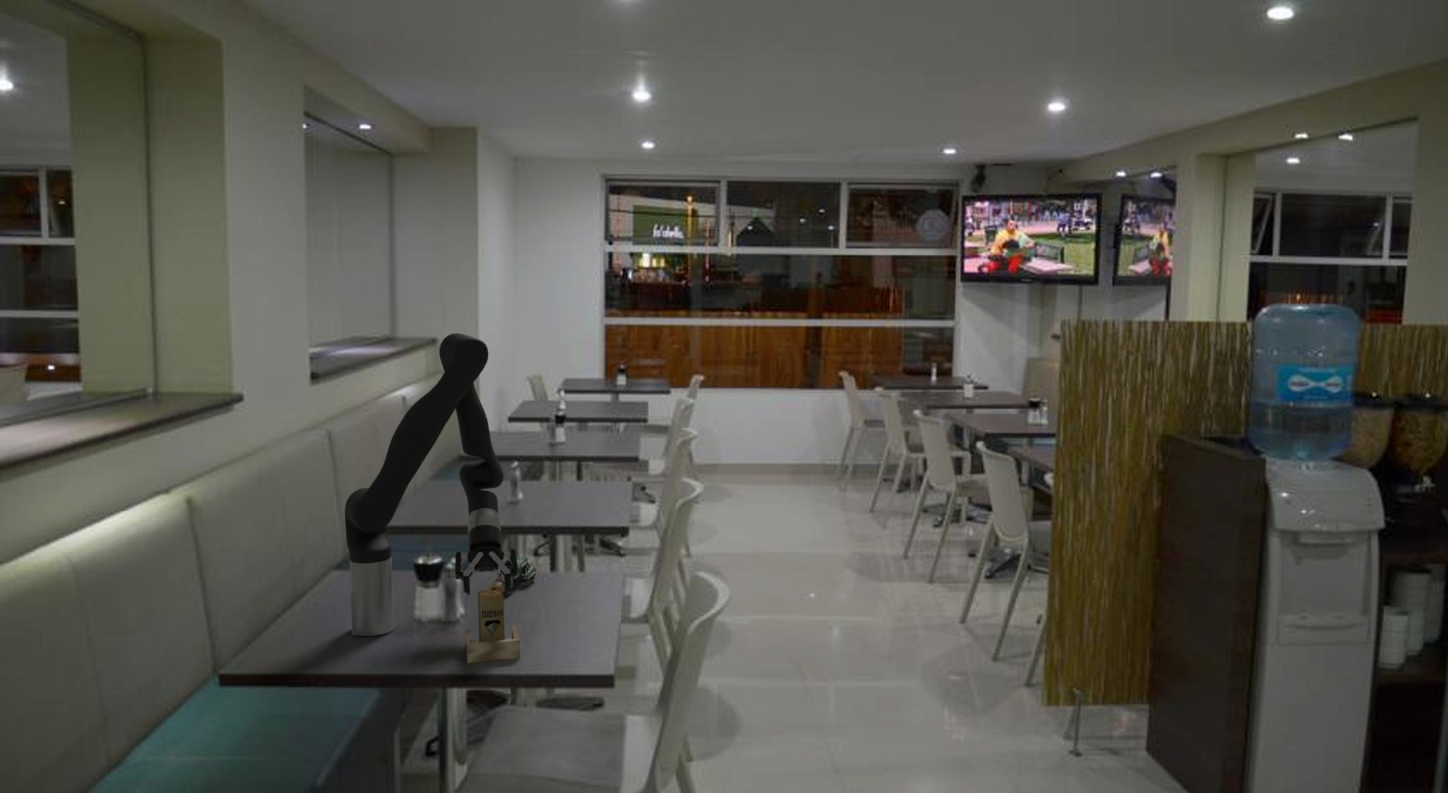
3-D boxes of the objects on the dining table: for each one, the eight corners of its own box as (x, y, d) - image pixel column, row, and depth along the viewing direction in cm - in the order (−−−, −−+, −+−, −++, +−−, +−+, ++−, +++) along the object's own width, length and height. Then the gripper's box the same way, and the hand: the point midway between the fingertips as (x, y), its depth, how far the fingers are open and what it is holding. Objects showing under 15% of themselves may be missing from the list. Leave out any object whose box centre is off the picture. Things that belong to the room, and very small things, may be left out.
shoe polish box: (479, 643, 234) (477, 591, 233) (501, 641, 236) (500, 589, 235) (481, 651, 230) (480, 597, 228) (504, 648, 231) (503, 595, 230)
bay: (467, 662, 226) (467, 644, 226) (466, 645, 237) (465, 628, 237) (519, 657, 229) (519, 640, 229) (516, 640, 240) (515, 623, 239)
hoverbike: (541, 577, 291) (541, 547, 291) (512, 604, 267) (511, 572, 266) (508, 575, 293) (507, 546, 292) (475, 603, 268) (474, 571, 267)
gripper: (453, 524, 248) (455, 586, 238) (515, 522, 252) (520, 582, 242) (453, 541, 254) (455, 602, 244) (513, 538, 258) (518, 598, 248)
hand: (487, 592), depth 243 cm, fingers open, 8 cm apart
